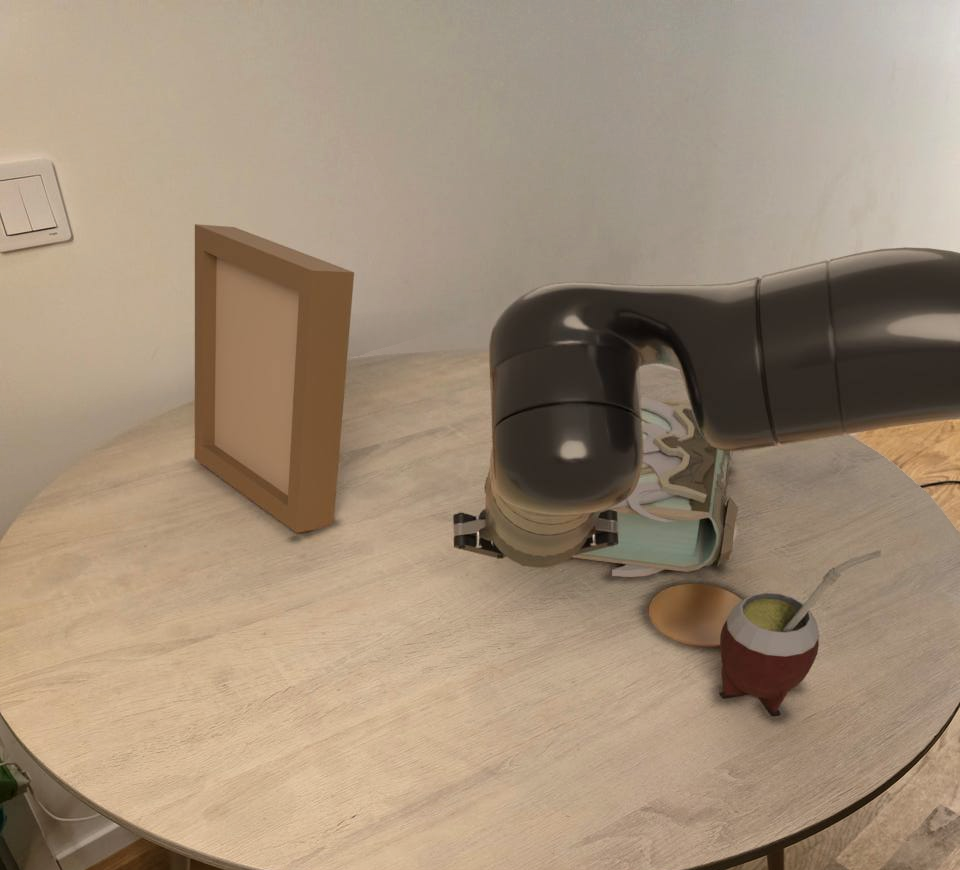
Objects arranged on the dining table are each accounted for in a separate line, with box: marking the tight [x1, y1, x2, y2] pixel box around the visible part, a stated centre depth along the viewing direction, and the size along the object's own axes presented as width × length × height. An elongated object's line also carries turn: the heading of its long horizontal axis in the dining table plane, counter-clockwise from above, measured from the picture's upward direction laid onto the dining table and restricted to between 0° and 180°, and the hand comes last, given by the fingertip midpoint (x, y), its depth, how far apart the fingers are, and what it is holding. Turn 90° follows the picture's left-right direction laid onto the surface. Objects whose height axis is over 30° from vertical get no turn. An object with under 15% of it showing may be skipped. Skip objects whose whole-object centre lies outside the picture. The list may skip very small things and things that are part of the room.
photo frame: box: [194, 223, 355, 534], centre depth 92 cm, size 15×22×25 cm
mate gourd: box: [718, 549, 882, 718], centre depth 66 cm, size 8×8×15 cm
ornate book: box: [571, 396, 739, 578], centre depth 91 cm, size 23×10×30 cm
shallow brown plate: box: [648, 583, 743, 648], centre depth 78 cm, size 9×9×1 cm
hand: (530, 554), depth 75 cm, fingers closed
